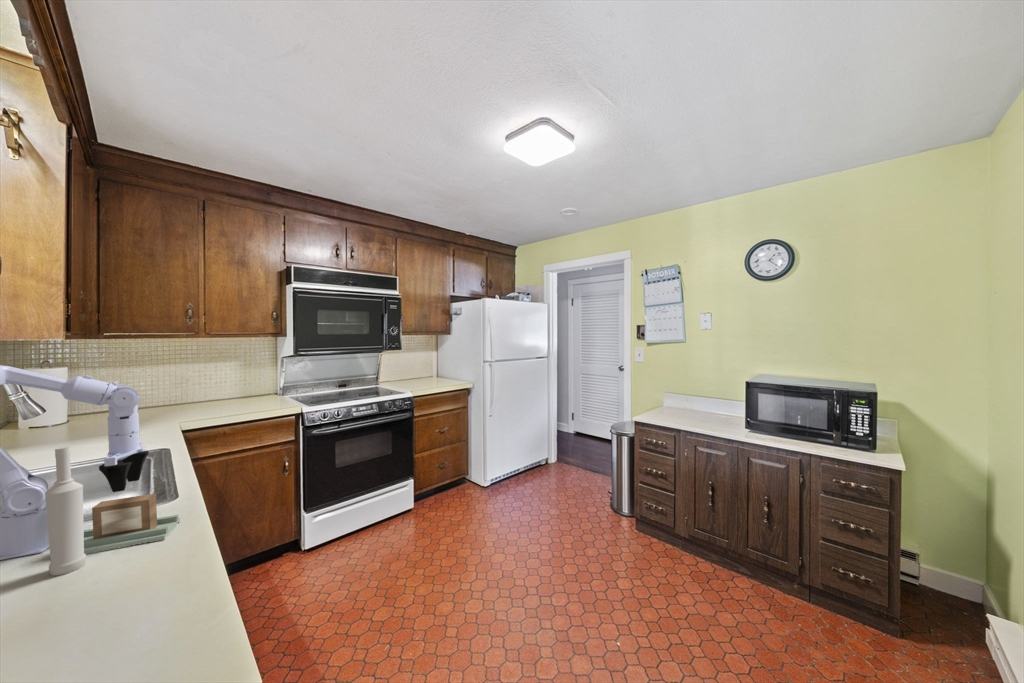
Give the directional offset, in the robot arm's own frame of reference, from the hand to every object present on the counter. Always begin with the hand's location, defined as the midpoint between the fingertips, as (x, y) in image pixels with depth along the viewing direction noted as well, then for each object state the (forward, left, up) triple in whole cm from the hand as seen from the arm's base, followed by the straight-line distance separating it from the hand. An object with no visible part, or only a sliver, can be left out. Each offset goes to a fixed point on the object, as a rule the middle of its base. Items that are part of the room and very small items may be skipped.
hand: (126, 485), depth 102 cm
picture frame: (+4, -11, -8) cm, 14 cm away
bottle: (-2, -22, -10) cm, 24 cm away
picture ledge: (+3, -11, -10) cm, 15 cm away
